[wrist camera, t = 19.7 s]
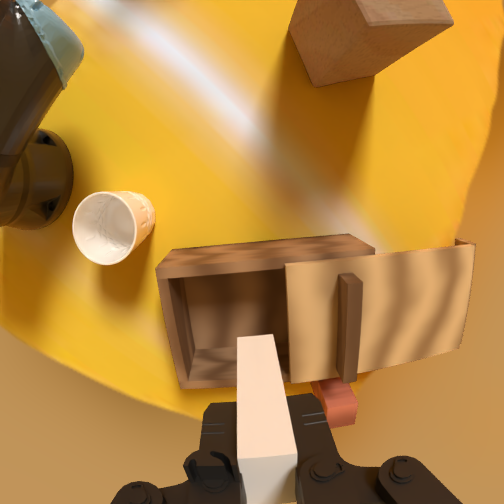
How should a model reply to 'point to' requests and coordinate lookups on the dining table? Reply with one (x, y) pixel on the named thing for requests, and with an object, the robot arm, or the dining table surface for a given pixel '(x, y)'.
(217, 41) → the dining table surface
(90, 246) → the white cup
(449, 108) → the dining table surface
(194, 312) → the toolbox
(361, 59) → the wooden block
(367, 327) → the lid
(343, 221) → the dining table surface
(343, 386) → the reddish-brown wooden bar
